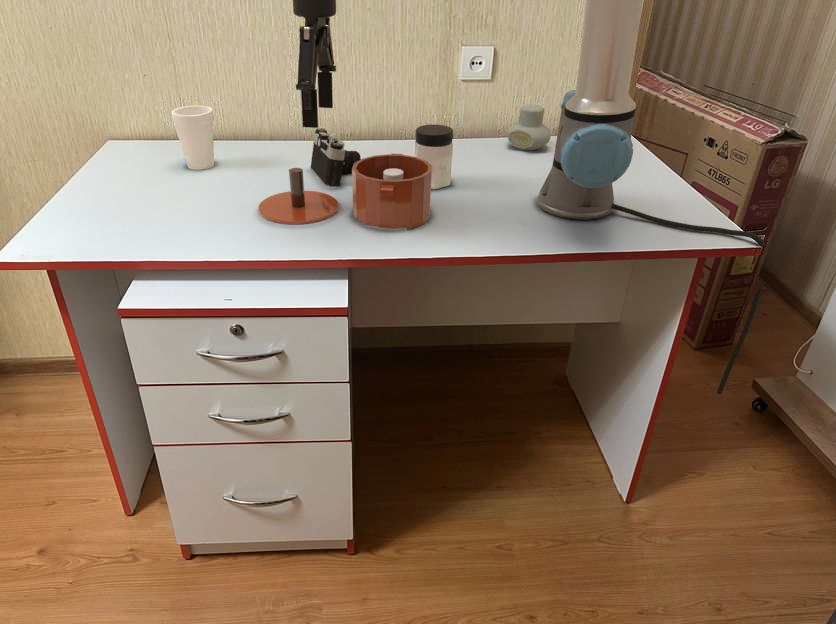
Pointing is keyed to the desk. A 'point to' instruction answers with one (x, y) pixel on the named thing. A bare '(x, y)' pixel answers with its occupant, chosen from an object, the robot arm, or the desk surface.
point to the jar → (436, 152)
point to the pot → (391, 191)
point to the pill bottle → (393, 174)
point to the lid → (298, 203)
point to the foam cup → (195, 135)
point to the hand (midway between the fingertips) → (318, 116)
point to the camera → (331, 158)
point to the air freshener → (529, 129)
